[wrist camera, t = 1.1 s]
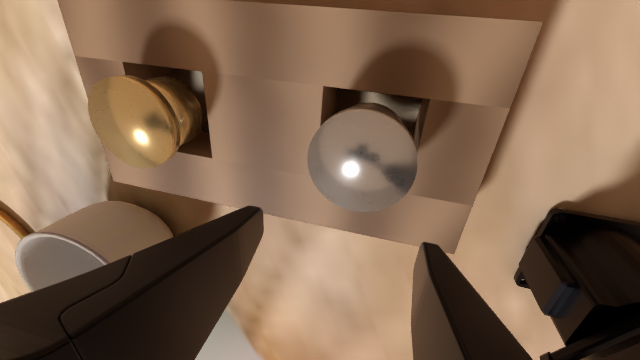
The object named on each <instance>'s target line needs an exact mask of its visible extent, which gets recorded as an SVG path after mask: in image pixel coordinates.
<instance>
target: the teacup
mask: <svg viewBox="0 0 640 360" xmlns="http://www.w3.org/2000/svg"><path fill="white" fill-rule="evenodd" d="M171 237H174V236H173V234H172V232H171V230H170V229H169V227H168V226H167V225H166V224H165V222H164V221H163V220H162V219H161V218H159V217H158V216H157V215H155V214H154V213H152V212H151V211H149V210H147V209H144V208H142V207H139V206H137V205H134V204H131V203H127V202H122V201H105V202H100V203H96V204H93V205H90V206H88V207H85V208H83V209H81V210H79V211H77V212H75V213H73V214H71V215H68V216H66V217H65V218H63V219H61V220H59V221H57V222H55V223H53V224H51V225H49V226H47V227H46V228H44V229H42V230H40V231H38V232H34V233H31V234H29V235H27V236H25V237H23V238H22V239H21V240H20V242H19V243H18V244H17V247H16V251H15V259H16V264H17V267H18V270H19V273H20V275H21V277H22V279H23V281H24V282H25V284H26V286H27V287H28V288H29V289H30V291H31V292H33V291H36V290H39V289H42V288H44V287H47V286H50V285H53V284H56V283H59V282H61V281H64V280H67V279H70V278H72V277H75V276H78V275H80V274H83V273H86V272H89V271H91V270H94V269H96V268H99V267H101V266H104V265H106V264H109V263H111V262H114V261H116V260H119V259H121V258H123V257H126V256H128V255H133V253H135V252H138V251H140V250H143V249H145V248H147V247H150V246H152V245H155V244H157V243H159V242H162V241H164V240H167V239H169V238H171Z"/></svg>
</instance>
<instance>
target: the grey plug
mask: <svg viewBox="0 0 640 360" xmlns="http://www.w3.org/2000/svg"><path fill="white" fill-rule="evenodd" d="M307 164H308V170H309V173H310V176H311V179H312V181H313V183H314V184H315V186H316V188H317V189H318V190H319V191H320V193H321V194H322V195H323V196H324V197H326V198H327V199H328V200H329V201H331V202H332V203H334V204H336V205H338V206H340V207H342V208H345V209H348V210H351V211H357V212H373V211H378V210H382V209H385V208H387V207H390V206H392V205H393V204H395V203H397V202H398V201H399V200H401V199H402V198H403V197H404V196H405V195H406V194H407V192H408V191H409V190H410V188H411V187H412V185H413V183H414V180H415V177H416V173H417V165H418V161H417V152H416V146H415V142H414V140H413V137H412V135H411V133H410V132H409V130H408V129H407V127H406V126H405V125H404V124H403V122H402V121H401V119H400V118H399V116H398V115H397V114H396V113H395V112H394V111H392V110H391V109H389V108H388V107H386V106H384V105H381V104H377V103H361V104H357V105H354V106H352V107H350V108H347V109H344V110H341V111H339V112H337V113H335V114H334V115H332V116H331V117H330V118H328V119H327V120H326V121H325V122H324V123H323V124H322V126H321V127H320V128H319V129H318V130H317V132H316V133H315V135H314V136H313V138H312V140H311V142H310V145H309V149H308V155H307Z"/></svg>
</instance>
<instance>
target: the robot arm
mask: <svg viewBox="0 0 640 360" xmlns="http://www.w3.org/2000/svg"><path fill="white" fill-rule="evenodd" d="M557 216H561V217H560V218H558V219H555V218H556V217H557ZM263 231H264V225H263V210H262V208H260V207H256V206H251V205H248V206H246V207H243V208H241V209H239V210H236V211H234V212H231V213H229V214H227V215H224V216H222V217H219V218H217V219H215V220H212V221H210V222H207V223H205V224H203V225H200V226H198V227H195V228H193V229H191V230H188V231H186V232H183V233H181V234H179V235H176V236H174V237H171V238H169V239H167V240H164V241H162V242H159V243H157V244H155V245H152V246H150V247H147V248H145V249H143V250H140V251H138V252H135V253H133V255H128V256H126V257H123V258H121V259H119V260H116V261H114V262H111V263H109V264H106V265H104V266H101V267H99V268H96V269H94V270H91V271H89V272H86V273H83V274H80V275H78V276H75V277H72V278H70V279H67V280H64V281H61V282H59V283H56V284H53V285H50V286H47V287H44V288H42V289H39V290H36V291H33V292H30V293H27V294H25V295H22V296H19V297H16V298H13V299H10V300H8V301H5V302H2V303H0V360H195V358H196V356H197V355H198V353H199V351H200V350H201V348H202V346H203V345H204V343H205V342H206V340H207V338H208V336H209V335H210V333H211V331H212V330H213V328H214V327H215V325H216V323H217V322H218V320H219V318H220V317H221V315H222V313H223V312H224V310H225V308H226V307H227V305H228V303H229V302H230V300H231V298H232V297H233V295H234V293H235V292H236V290H237V288H238V287H239V285H240V283H241V281H242V279H243V277H244V275H245V273H246V271H247V269H248V267H249V265H250V262H251V260H252V258H253V256H254V254H255V252H256V249H257V247H258V245H259V243H260V241H261V238H262V236H263ZM522 279H525V280H522ZM514 280H515V282H516V284H517V285H518V286H520V287H524V288H528V289H531V291H532V293H533V295H534V297H535V299H536V301H537V303H538V305H539V307H540V309H541V311H542V312H543V313H544V315H548V316H550V317H551V319H552V321H553V323H554V325H555V326H556V328H557V330H558V332H559V334H560V336H561V338H562V340H563V342H564V344H565V347H563V348H561V349H559V350H557V351H554V352H552V353H550V352H547V353H545V354H543V355H541V356H540V360H640V223H638V222H633V221H627V220H621V219H616V218H610V217H604V216H598V215H593V214H587V213H581V212H576V211H570V210H564V209H554V210H552V211H550V212H549V213H548V215H547V217H546V219H545V220H544V222H543V224H542V226H541V228H540V230H539V232H538V233H537V235H536V236H535V237H534V238H533V239H532V240H531V242H530V244H529V246H528V248H527V250H526V252H525V253H524V255H523V257H522V259H521V261H520V263H519V268H518V270H517V272H516V274H515V276H514ZM411 333H412V347H413V360H532V358H531V357H530V356H529V354H528V353H527V352H526V351H525V349H524V348H523V347H522V346H521V345H520V343H519V342H518V341H517V340H516V339H515V337H514V336H513V335H512V334H511V332H510V331H509V330H508V329H507V328H506V326H505V325H504V324H503V323H502V322H501V320H500V319H499V318H498V317H497V315H496V314H495V313H494V312H493V311H492V309H491V308H490V307H489V306H488V305H487V303H486V302H485V301H484V300H483V298H482V297H481V296H480V295H479V294H478V292H477V291H476V290H475V289H474V288H473V286H472V285H471V284H470V283H469V281H468V280H467V279H466V278H465V277H464V275H463V274H462V273H461V272H460V271H459V269H458V268H457V267H456V266H455V264H454V263H453V262H452V261H451V260H450V258H449V257H448V256H447V255H446V254H445V252H444V251H443V250H442V249H441V247H440V246H439V245H437V244H433V243H428V242H422V243H421V245H420V248H419V252H418V255H417V258H416V261H415V265H414V272H413V291H412V311H411Z"/></svg>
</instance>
